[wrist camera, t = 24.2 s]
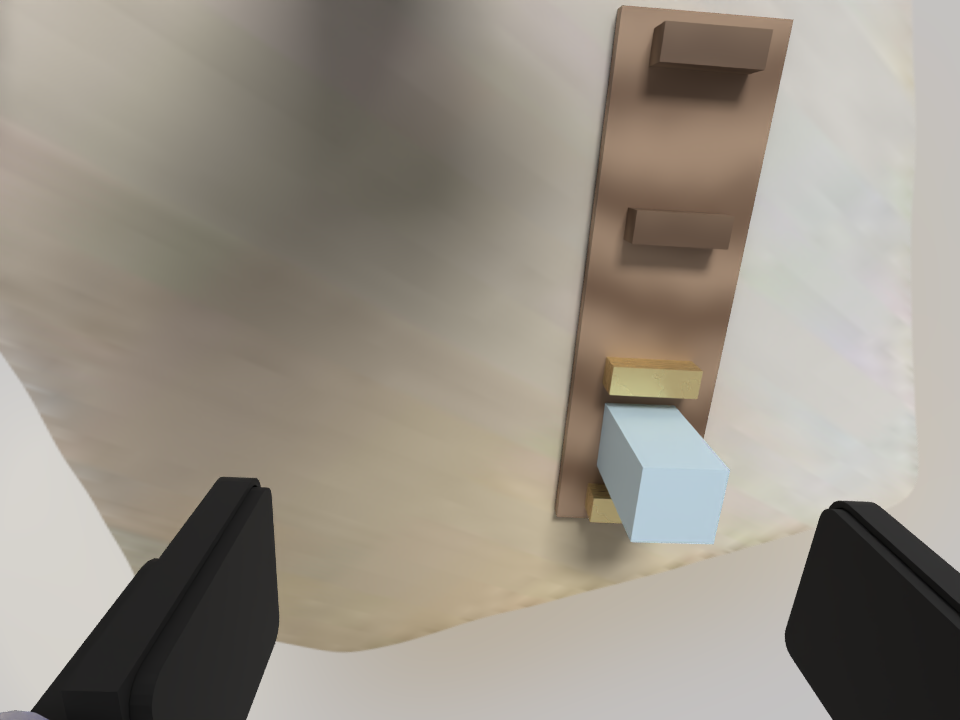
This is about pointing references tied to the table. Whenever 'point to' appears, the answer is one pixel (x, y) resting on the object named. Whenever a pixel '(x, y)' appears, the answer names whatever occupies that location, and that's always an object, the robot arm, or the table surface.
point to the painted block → (660, 474)
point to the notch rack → (667, 222)
